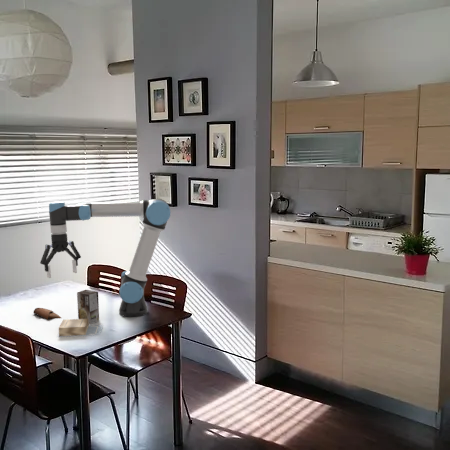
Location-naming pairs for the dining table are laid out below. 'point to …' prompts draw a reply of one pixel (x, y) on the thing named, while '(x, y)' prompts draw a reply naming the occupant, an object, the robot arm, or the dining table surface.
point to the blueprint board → (90, 331)
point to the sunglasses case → (45, 313)
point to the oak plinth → (73, 327)
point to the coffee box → (88, 305)
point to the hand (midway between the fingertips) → (62, 275)
